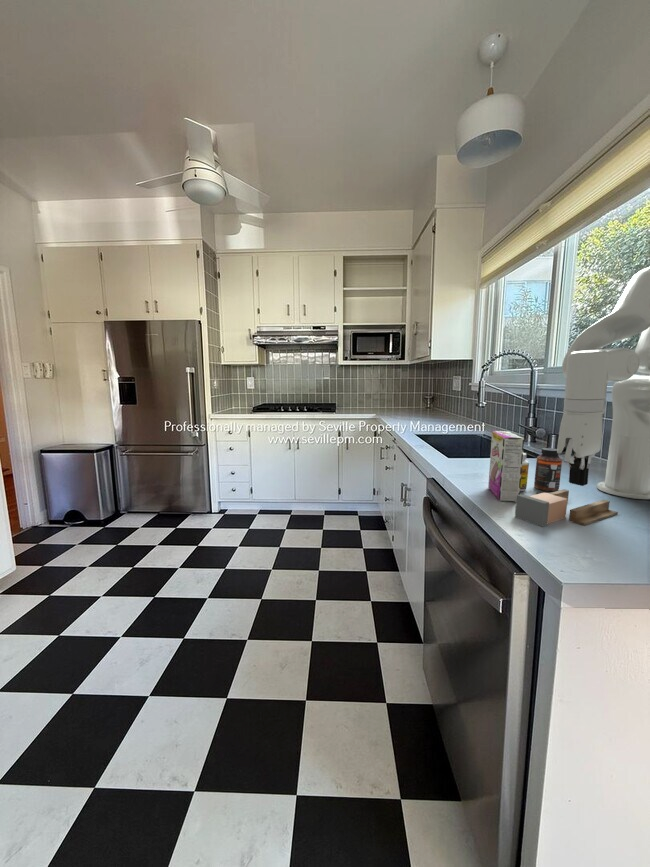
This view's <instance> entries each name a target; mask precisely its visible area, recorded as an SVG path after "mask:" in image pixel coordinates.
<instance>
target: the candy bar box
mask: <svg viewBox="0 0 650 867" xmlns="http://www.w3.org/2000/svg"><path fill="white" fill-rule="evenodd" d="M524 443H525V438H524V437H522V436H520V435H517V434H516V433H514V432H511V431H507V430H506V431H505V430H493V431H491V441H490V455H489V456H490V457H489V459H490V460H489V473H488V487H487V488H488V489H489V490H490V491H491V493H492V494H493V495H494V496H495V497H496V499H497V500H498V501H499V502H507V503H509V502H510V503H516V499H517V495H520V494H521V491H520V484H521V472H522V460H523V453H524Z"/></svg>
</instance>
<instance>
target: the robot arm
mask: <svg viewBox="0 0 650 867" xmlns="http://www.w3.org/2000/svg"><path fill="white" fill-rule="evenodd" d="M619 297H620V298H618V301H617V303H616V305H615V306H614V309H613V310H612V311H611V313H609V314H608V315H606V316H604V317H602V318H600V319H599V320H598V321H595V323H593V324H591V325H590V326H589V327H587V328H586V329H584V330H583V331H581V333H580V334H578V336H576V338H575V339H574V340H573V342H572V343H571V345H570V347H569V348H568V350H567V352H566V354H565V356H564V358H563V360H562V364H561V373H562V374H563V377H564V378H565V386H564V400H563V414H562V417H561V421H560V426H559V432H558V438H557V448H556V449H557V453H558V456H559V455H560V456H563V455H564V460H563V461H564V463H567V464H568V467H569V476H568V482H569V483H570V484H571V485H577V486H580V487H581V486H582V487H584V486H586V485H588V484H589V471H590V470H589V469H590V467H591V462H592V458H594V457H595V456H596V454H597V453H599V452H600V451H601V449H602V444H603V429H604V428H603V414H605V413H606V402H607V401H606V400H607V389H608V382H609V383H611V382H613V383H614V384H613V385H612V388H611V404H612V421H611V422H612V423H611V431H610V440H609V446H608V447H609V448H608V454H607V456H608V457H607V463H606V471H605V479H604V481H600V482H597V486H596V488H597V489H598V490H599V491H601V492H604V493H606V494H610V495H613V496H618V497H621V498H622V497H623V498H628V499H635V500H636V499H637V500H650V266H649V267H646V268H643V269H641V270H639V271H638V272H637V273H635V274H634V275H633V276H632V277H631V279H630V280H629V282H628V284H627V285H626V287H625V289H624V291H623V292H622V294H621V296H619ZM638 334H640V337H639V340H638V342H637V345H636V346H635V349H634V350H633V349H630V348H627V347H614V348H612V347H611V348H604V347H606V346H608V345H610V344H614V343H617V342H619V341H622V340H625V339H628V338H630V337H633V336H636V335H638ZM637 373H639V374H637Z"/></svg>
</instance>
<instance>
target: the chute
mask: <svg viewBox="0 0 650 867" xmlns="http://www.w3.org/2000/svg"><path fill="white" fill-rule="evenodd" d="M569 492H570V491H569V490H567V489H558V490H557V491H550V492H547V493H548V494H552V495H555V496H559V497H563V498H566V499H568V500H569ZM616 515H618V511H615V510H612V509H610V500H607V499H601V500H598V501H595V502H591V503H588V504H584V505H581V506H576V507H575V508H572V509H571V508H570V509H569V516H568V522H572V523H575V524H578V525H581V526H588V525H590V524H594V523H596V522H599V521H602V520H604V519H607V518H610V517H613V516H616Z"/></svg>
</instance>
